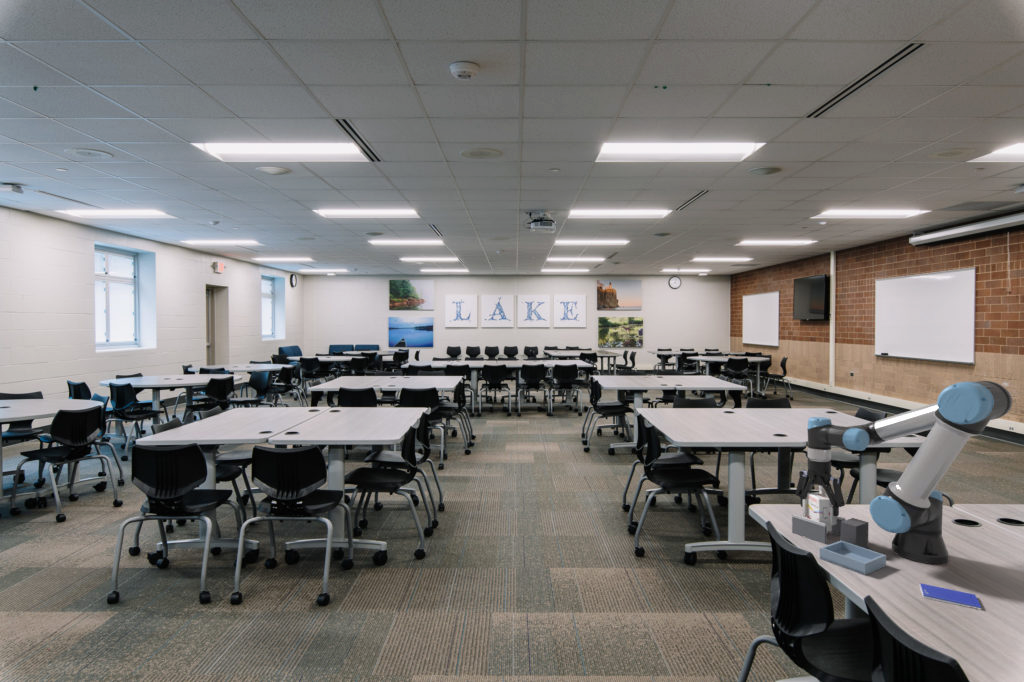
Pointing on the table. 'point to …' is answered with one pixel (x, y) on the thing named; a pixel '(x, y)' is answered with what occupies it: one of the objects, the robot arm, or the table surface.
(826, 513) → the ink cartridge box
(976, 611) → the table surface
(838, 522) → the pair of grey slabs
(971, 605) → the hard drive
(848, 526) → the dark gray block
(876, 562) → the tray
